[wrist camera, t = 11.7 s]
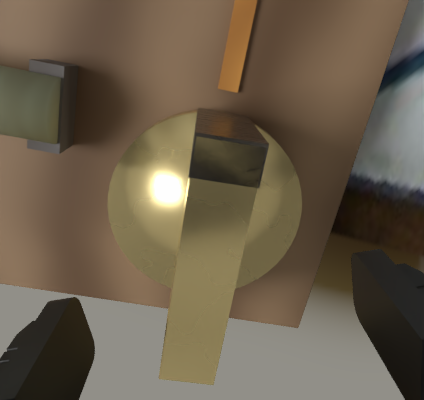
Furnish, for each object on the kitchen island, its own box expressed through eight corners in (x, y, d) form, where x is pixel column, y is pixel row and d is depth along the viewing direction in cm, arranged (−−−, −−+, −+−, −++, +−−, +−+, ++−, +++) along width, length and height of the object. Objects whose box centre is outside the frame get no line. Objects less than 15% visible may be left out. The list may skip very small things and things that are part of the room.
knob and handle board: (390, -12, 16) (464, -40, 11) (289, 304, 21) (312, 370, 17) (-173, -146, 14) (-352, -242, 9) (-125, 240, 19) (-224, 295, 15)
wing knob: (121, 91, 15) (71, 111, 9) (318, 124, 15) (383, 163, 10) (106, 269, 18) (61, 368, 12) (273, 291, 18) (305, 395, 13)
